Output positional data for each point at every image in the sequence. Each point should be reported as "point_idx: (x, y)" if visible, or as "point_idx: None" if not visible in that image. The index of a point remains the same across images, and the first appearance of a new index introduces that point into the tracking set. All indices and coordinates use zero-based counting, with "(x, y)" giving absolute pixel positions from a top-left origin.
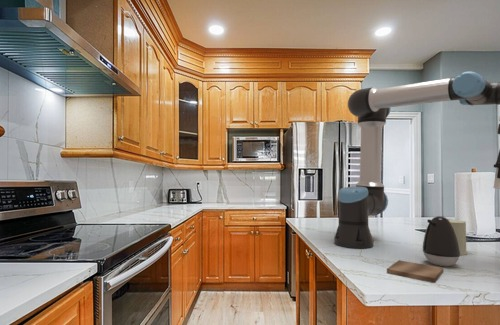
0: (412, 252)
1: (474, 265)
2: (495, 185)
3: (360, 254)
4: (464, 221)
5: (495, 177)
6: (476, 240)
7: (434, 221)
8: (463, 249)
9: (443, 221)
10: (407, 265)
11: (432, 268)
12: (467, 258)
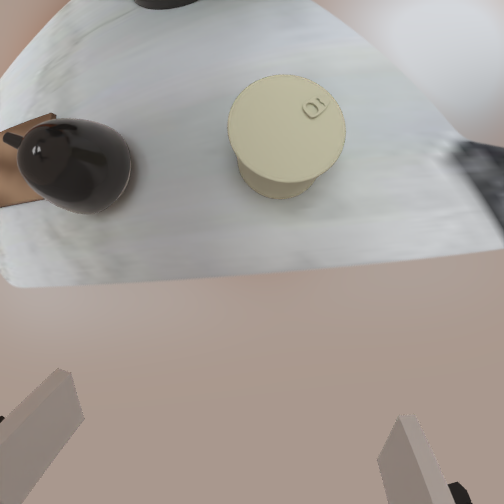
0: (183, 83)
1: (147, 237)
2: (48, 386)
3: (88, 33)
4: (310, 174)
5: (11, 414)
6: (497, 203)
7: (15, 146)
8: (260, 191)
9: (18, 168)
10: None
11: None
12: (218, 209)
